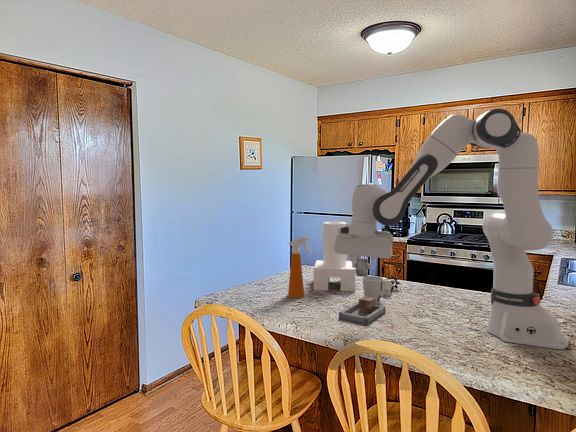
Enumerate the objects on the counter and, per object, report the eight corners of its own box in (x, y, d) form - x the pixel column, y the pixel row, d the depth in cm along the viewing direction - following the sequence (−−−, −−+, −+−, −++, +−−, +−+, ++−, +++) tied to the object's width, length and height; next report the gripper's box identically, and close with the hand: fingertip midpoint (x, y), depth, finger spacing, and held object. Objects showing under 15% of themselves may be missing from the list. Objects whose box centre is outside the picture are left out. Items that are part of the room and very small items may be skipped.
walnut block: (374, 311, 149) (375, 298, 148) (369, 314, 145) (370, 301, 145) (363, 308, 151) (363, 296, 151) (358, 312, 148) (358, 299, 147)
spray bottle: (310, 299, 165) (310, 237, 163) (285, 297, 168) (285, 236, 166) (314, 295, 172) (314, 235, 169) (291, 293, 175) (290, 234, 173)
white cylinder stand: (316, 279, 199) (316, 220, 196) (354, 280, 196) (354, 221, 194) (313, 289, 181) (313, 224, 178) (355, 291, 178) (355, 225, 175)
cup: (383, 305, 156) (383, 281, 156) (362, 304, 158) (362, 280, 157) (382, 299, 164) (382, 276, 164) (362, 298, 166) (363, 275, 165)
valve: (392, 297, 169) (399, 290, 179) (392, 281, 168) (399, 276, 179) (377, 294, 172) (385, 288, 182) (377, 280, 172) (385, 274, 182)
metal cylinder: (366, 277, 137) (366, 260, 137) (354, 275, 139) (355, 259, 138) (368, 274, 141) (369, 258, 140) (357, 273, 143) (358, 257, 142)
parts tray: (385, 312, 149) (385, 306, 148) (367, 324, 136) (367, 318, 136) (358, 307, 155) (358, 301, 155) (338, 318, 142) (338, 312, 142)
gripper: (395, 230, 137) (393, 270, 138) (339, 226, 146) (337, 263, 147) (392, 232, 131) (390, 273, 132) (333, 228, 140) (332, 266, 141)
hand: (362, 268), depth 140 cm, fingers closed on metal cylinder, 4 cm apart
